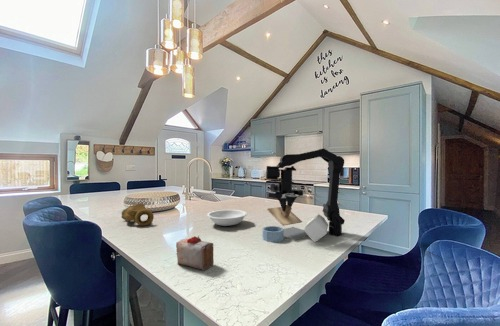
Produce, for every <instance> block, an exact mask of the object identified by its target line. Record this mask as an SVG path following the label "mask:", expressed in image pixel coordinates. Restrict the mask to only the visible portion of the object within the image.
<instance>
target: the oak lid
mask: <svg viewBox="0 0 500 326" xmlns="http://www.w3.org/2000/svg"><path fill="white" fill-rule="evenodd" d="M266 210H267V211H268V213H270V214H271V215H272V216H273V218H274V219H275V220H277V221H278V223H280V224H281V226H282V227H283V226H290V225H294V224H295V225H296V224H300V223H303V220H302V219H300V218H299V217H298V216H297V215H296V214H295V213H294V212H293V211H292V207H290V206H289V205H287V204H286V208H285V211H283V210H282V207H281V206H280V207H278V206H277V207H270V208H267V209H266Z"/></svg>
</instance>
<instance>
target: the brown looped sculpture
mask: <svg viewBox="0 0 500 326" xmlns="http://www.w3.org/2000/svg"><path fill="white" fill-rule="evenodd" d="M143 215H146V216H147V218H146V219H145V220H142V219H141V218H142V216H143ZM154 217H155V216H154V213H153V212H152V210H150V209H148V208H146V206H145V204H144V203H142V202H141V203H137V204H134V205H130V206H128V207H126V208H125V209H123V210H122V211H121V219H122V220H124V221H125V222H126V223H129V222H130V221H132V222H135V223H136V224H137V225H139V226H140V227H147V226H149V225H150V224H152V223H153V221H154Z"/></svg>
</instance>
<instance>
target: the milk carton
mask: <svg viewBox="0 0 500 326" xmlns="http://www.w3.org/2000/svg"><path fill="white" fill-rule="evenodd" d="M303 230H304V231H305V232H306V233H307V235H308V237H309V238H310V239H311V241H313V242H314V243H316V242H318V241H319V240H321V239H322V238H323V237H324V236H326V235H327V233H328V230H329V222H327V221H326V219H325V217H324V216H322V215H321V214H319V213H318V214H317V215H316V216H315V215H314V217H313V218H312V219H310V220H309V221H308V222H307V224H306V226H305V227H304V229H303Z"/></svg>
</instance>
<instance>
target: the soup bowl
mask: <svg viewBox="0 0 500 326" xmlns="http://www.w3.org/2000/svg"><path fill="white" fill-rule="evenodd" d="M247 215H248V212H247V211H245V210H240V209H220V210H219V209H218V210H214V211H210V212H208V213H206V216H207V218H209V219H210V220H211V221H212V223H213V224H215V225H219V226H223V227H227V226H228V227H229V226H230V227H231V226H235V225H238V224H240V223H241V222H242V221H243V220H244V219H245V217H247Z"/></svg>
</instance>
